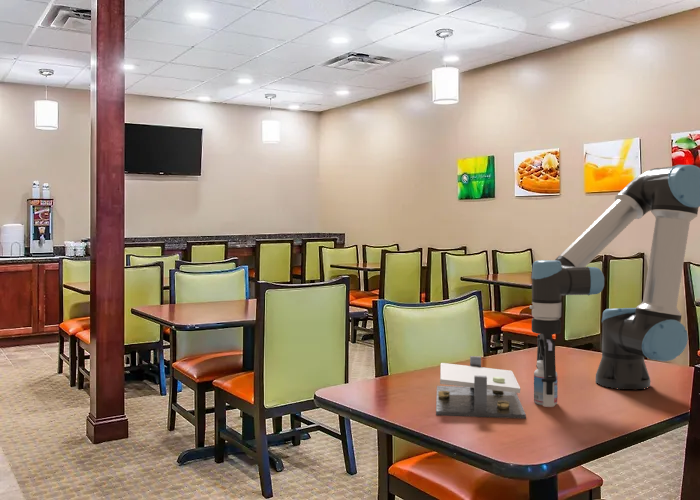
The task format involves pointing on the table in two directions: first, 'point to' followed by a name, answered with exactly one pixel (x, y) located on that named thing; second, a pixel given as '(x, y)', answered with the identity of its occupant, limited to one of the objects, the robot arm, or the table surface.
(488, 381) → the stage
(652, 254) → the robot arm
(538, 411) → the table surface
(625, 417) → the table surface
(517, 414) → the grey stand base
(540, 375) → the pill bottle
